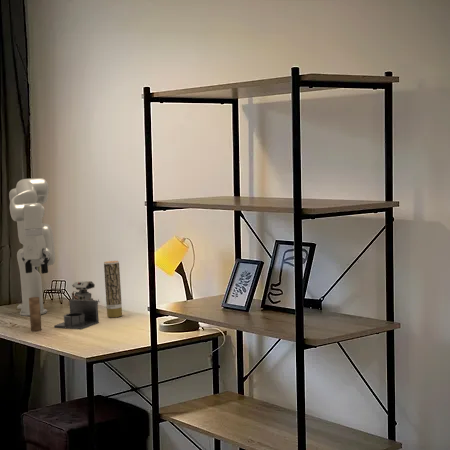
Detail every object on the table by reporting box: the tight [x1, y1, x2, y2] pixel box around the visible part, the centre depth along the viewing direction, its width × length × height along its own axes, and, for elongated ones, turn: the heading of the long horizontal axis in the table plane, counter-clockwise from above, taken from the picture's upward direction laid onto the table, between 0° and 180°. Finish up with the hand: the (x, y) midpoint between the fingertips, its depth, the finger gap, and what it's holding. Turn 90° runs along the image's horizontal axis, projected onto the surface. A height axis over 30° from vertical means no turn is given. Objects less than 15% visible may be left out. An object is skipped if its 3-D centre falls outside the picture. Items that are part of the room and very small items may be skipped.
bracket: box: [53, 298, 99, 330], centre depth 357 cm, size 13×14×10 cm
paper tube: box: [103, 260, 123, 319], centre depth 372 cm, size 7×7×25 cm
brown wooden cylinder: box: [29, 297, 42, 332], centre depth 351 cm, size 4×4×14 cm
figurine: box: [71, 280, 100, 304], centre depth 385 cm, size 9×12×15 cm
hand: (36, 272), depth 351 cm, fingers open, 9 cm apart
